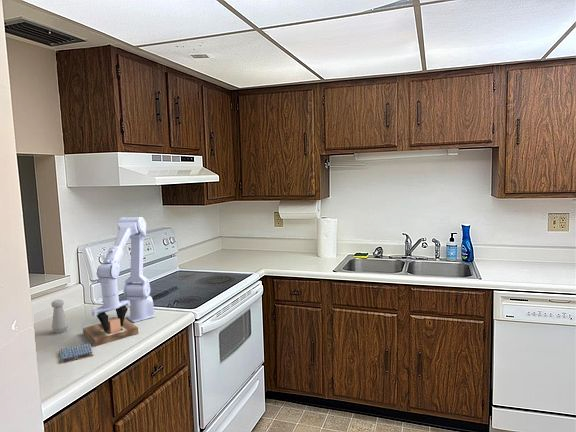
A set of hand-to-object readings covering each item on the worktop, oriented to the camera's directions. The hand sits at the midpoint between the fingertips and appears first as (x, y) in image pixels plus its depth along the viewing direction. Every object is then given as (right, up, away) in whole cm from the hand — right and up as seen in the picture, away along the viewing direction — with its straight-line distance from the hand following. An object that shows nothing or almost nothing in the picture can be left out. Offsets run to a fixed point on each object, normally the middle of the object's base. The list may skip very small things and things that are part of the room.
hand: (113, 328), depth 164 cm
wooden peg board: (-2, -3, +3) cm, 5 cm away
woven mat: (-7, -6, -14) cm, 17 cm away
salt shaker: (-25, -4, +8) cm, 26 cm away
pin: (0, -3, +1) cm, 4 cm away
